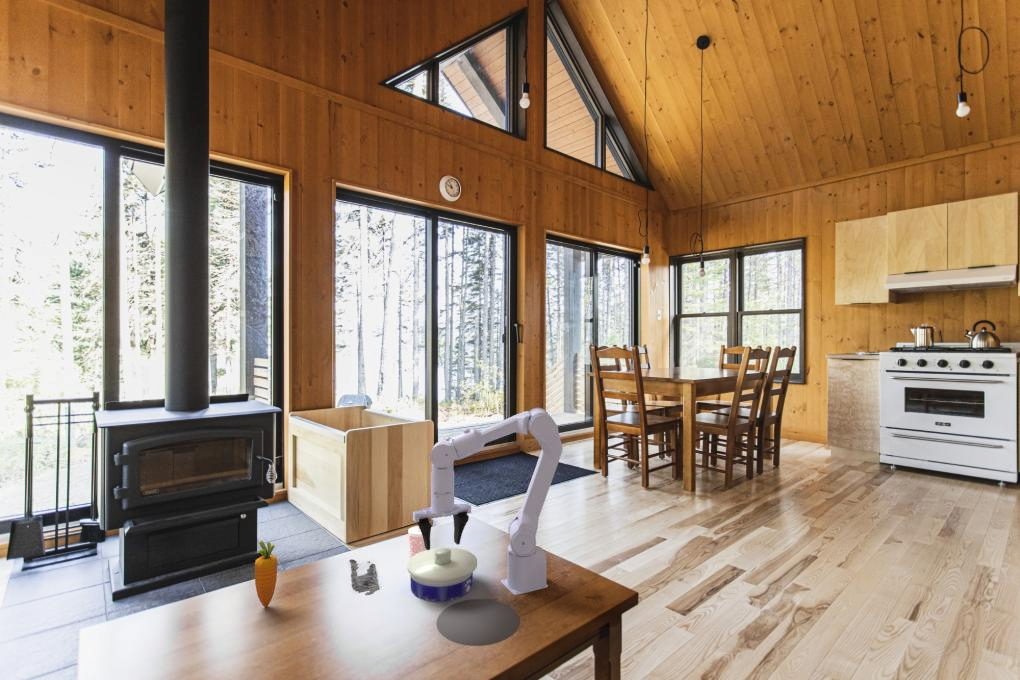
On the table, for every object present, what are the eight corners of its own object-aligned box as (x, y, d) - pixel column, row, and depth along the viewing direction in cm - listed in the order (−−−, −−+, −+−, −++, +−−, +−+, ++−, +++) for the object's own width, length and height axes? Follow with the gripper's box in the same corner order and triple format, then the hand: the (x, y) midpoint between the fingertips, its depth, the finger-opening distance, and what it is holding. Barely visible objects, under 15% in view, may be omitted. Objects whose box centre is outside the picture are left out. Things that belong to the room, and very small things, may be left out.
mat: (497, 594, 121) (497, 592, 121) (534, 633, 105) (535, 631, 105) (425, 611, 113) (425, 610, 113) (453, 657, 97) (453, 655, 97)
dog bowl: (463, 608, 115) (463, 581, 115) (400, 601, 118) (400, 575, 118) (479, 577, 130) (479, 553, 130) (423, 571, 133) (423, 549, 133)
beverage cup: (405, 560, 139) (405, 509, 139) (426, 556, 142) (426, 506, 142) (411, 569, 134) (411, 516, 134) (433, 564, 137) (433, 513, 137)
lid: (462, 546, 135) (462, 533, 135) (488, 572, 120) (488, 558, 120) (399, 557, 128) (399, 544, 128) (418, 587, 112) (418, 572, 112)
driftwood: (380, 597, 120) (380, 588, 120) (350, 602, 118) (350, 593, 118) (375, 562, 140) (375, 554, 140) (349, 565, 138) (349, 557, 138)
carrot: (281, 606, 115) (281, 541, 115) (258, 615, 111) (259, 547, 111) (272, 599, 118) (273, 535, 118) (250, 607, 114) (250, 541, 114)
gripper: (418, 499, 117) (418, 557, 117) (476, 491, 124) (475, 546, 124) (410, 491, 124) (410, 546, 124) (465, 483, 130) (465, 536, 130)
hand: (442, 545), depth 124 cm, fingers open, 7 cm apart
